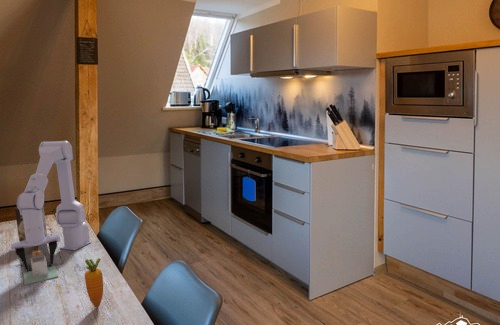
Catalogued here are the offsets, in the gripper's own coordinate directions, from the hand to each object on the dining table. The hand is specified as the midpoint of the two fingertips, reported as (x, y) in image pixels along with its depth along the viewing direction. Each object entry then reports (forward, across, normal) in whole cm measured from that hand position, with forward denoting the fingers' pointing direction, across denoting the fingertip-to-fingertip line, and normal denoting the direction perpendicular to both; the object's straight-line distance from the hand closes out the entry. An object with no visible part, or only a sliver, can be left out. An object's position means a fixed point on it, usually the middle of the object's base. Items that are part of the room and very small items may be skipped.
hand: (39, 265), depth 140 cm
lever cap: (+3, 0, 0) cm, 3 cm away
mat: (+3, 0, 0) cm, 3 cm away
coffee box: (+4, 0, +37) cm, 38 cm away
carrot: (+4, +12, -34) cm, 36 cm away
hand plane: (+3, 0, +16) cm, 16 cm away
